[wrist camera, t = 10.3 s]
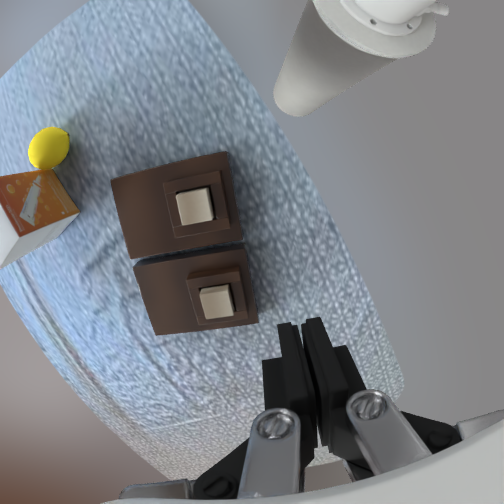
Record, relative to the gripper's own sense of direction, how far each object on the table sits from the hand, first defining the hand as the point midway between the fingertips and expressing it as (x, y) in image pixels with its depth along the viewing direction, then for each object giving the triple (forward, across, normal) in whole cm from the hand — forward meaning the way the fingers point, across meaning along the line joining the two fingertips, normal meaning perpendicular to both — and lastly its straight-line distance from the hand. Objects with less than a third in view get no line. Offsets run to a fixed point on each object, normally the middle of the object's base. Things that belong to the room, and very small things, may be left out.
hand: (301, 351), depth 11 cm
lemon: (+25, +25, -15) cm, 39 cm away
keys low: (+25, +10, -4) cm, 27 cm away
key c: (+22, +7, -3) cm, 23 cm away
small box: (+25, +28, -8) cm, 39 cm away
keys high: (+25, +10, +8) cm, 28 cm away
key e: (+22, +7, +7) cm, 24 cm away
